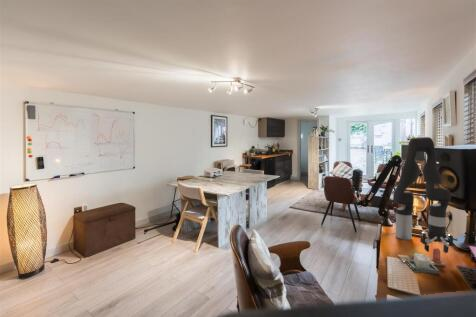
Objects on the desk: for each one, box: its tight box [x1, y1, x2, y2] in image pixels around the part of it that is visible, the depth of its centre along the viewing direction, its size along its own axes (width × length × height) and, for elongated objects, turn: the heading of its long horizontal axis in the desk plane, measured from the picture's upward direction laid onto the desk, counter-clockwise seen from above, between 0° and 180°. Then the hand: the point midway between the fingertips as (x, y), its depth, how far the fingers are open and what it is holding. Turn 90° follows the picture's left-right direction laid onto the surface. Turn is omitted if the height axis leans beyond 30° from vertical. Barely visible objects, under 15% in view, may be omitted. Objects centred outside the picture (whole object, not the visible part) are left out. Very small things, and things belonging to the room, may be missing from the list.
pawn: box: [431, 247, 442, 263], centre depth 128 cm, size 4×4×7 cm
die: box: [413, 252, 430, 269], centre depth 123 cm, size 5×5×5 cm
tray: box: [406, 260, 440, 275], centre depth 123 cm, size 9×11×2 cm
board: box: [397, 254, 446, 267], centre depth 130 cm, size 7×20×1 cm, turn 75°
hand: (436, 251), depth 128 cm, fingers open, 8 cm apart
